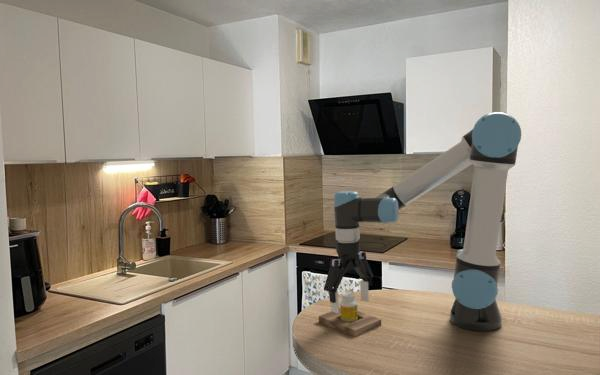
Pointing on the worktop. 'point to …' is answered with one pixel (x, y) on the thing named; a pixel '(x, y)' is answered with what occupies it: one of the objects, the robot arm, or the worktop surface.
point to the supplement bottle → (348, 308)
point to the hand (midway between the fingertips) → (350, 306)
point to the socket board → (354, 328)
